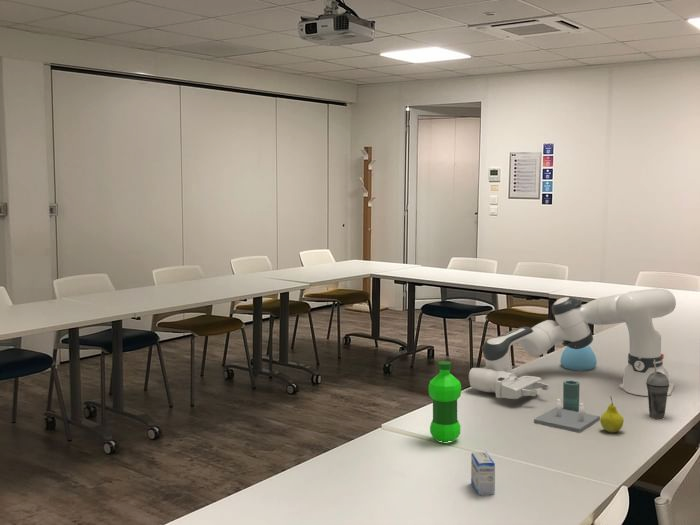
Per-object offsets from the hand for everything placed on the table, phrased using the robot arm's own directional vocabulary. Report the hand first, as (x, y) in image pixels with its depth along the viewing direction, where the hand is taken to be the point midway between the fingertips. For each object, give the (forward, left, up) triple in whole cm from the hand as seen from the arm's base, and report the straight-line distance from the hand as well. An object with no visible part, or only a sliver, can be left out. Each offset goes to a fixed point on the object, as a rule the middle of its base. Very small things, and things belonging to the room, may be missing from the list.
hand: (541, 390), depth 260 cm
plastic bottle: (+52, -7, -5) cm, 53 cm away
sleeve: (0, +11, -5) cm, 12 cm away
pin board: (+12, +15, -5) cm, 20 cm away
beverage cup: (-10, +37, -5) cm, 39 cm away
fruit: (+13, +31, -5) cm, 34 cm away
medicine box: (+76, +21, -5) cm, 79 cm away
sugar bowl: (-58, -12, -6) cm, 60 cm away
